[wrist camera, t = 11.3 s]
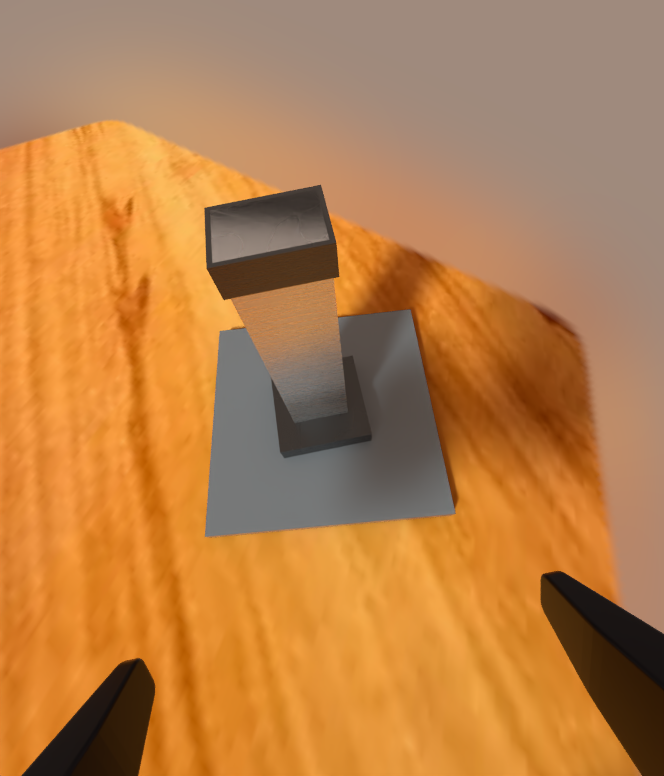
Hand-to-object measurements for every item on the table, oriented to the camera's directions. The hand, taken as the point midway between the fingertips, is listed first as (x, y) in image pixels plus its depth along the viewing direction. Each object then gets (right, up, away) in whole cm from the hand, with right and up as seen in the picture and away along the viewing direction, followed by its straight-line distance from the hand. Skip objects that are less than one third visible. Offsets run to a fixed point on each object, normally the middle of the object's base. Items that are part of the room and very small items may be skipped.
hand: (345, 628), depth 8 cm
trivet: (-1, +4, +14) cm, 14 cm away
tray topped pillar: (-1, +4, +13) cm, 14 cm away
